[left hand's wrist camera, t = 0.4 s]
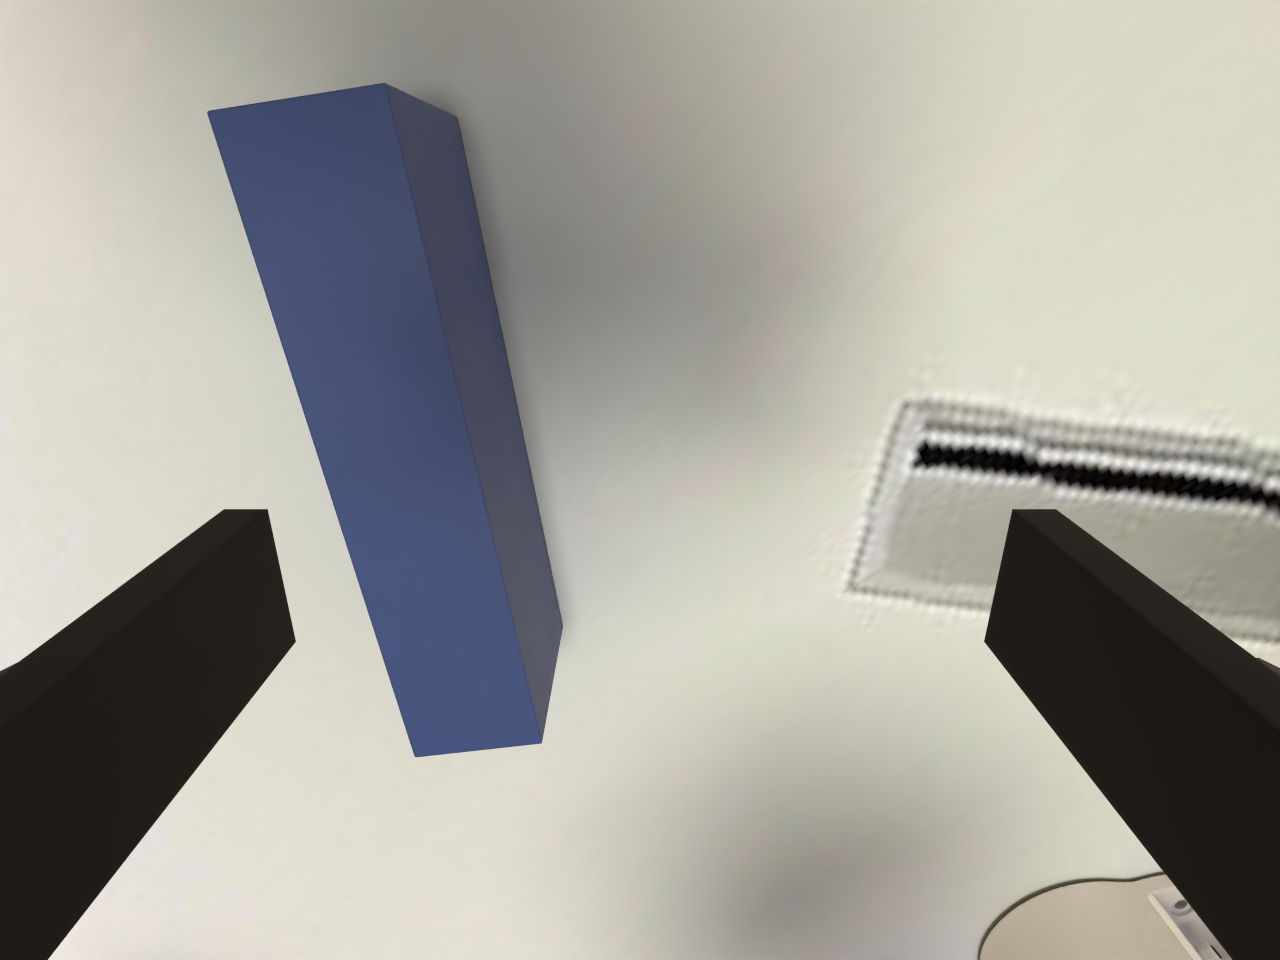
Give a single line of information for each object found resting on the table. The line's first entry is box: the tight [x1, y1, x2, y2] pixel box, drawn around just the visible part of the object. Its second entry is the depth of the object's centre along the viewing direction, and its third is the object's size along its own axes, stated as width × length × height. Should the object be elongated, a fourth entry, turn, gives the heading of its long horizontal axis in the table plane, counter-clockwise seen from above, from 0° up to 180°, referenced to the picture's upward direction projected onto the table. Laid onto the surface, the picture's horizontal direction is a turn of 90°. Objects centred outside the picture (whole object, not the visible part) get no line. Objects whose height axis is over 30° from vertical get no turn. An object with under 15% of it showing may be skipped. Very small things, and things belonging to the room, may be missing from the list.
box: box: [207, 83, 563, 757], centre depth 33 cm, size 28×6×10 cm, turn 8°
